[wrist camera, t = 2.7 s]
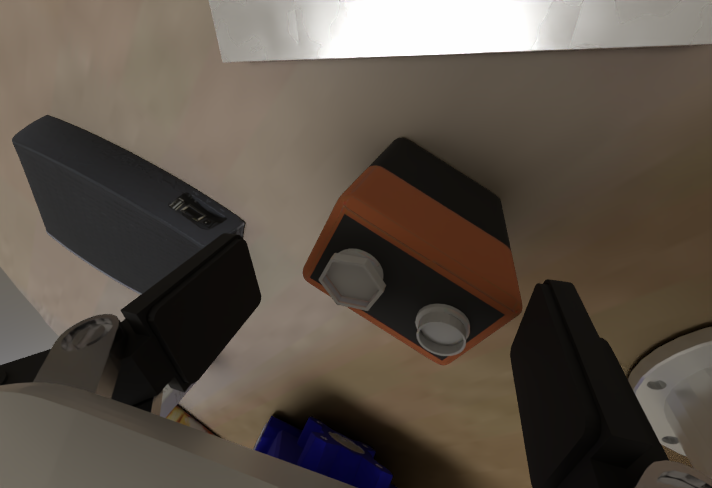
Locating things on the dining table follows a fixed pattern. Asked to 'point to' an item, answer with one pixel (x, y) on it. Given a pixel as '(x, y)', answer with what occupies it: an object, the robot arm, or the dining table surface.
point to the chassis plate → (450, 27)
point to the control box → (324, 453)
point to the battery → (419, 254)
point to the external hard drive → (116, 204)
